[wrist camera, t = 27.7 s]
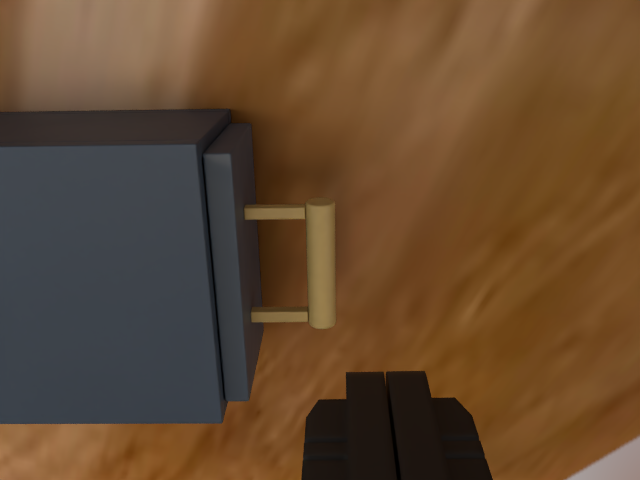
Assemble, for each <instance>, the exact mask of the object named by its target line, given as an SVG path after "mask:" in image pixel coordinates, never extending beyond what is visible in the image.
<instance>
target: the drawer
mask: <svg viewBox="0 0 640 480" xmlns="http://www.w3.org/2000/svg"><path fill="white" fill-rule="evenodd" d="M202 169H203V180H204V191H205V202H206V212H207V223H208V234H209V245H210V256H211V267H212V278H213V289H214V299H215V310H216V321H217V330H218V329H219V340H220V351H221V362H222V373H223V384H224V395H225V401H249V398H250V393H251V388H252V384H253V379H254V374H255V369H256V365H257V360H258V355H259V350H260V345H261V341H262V336H263V331H264V330H263V322H308V318H309V324H310V326H312V327H314V328H317V329H327V328H331V327H333V326H334V325H335V323H336V256H335V202H334V200H332V199H329V198H323V197H319V198H312V199H309V200H307V201H306V203H305V204H265V205H256V195H255V178H254V162H253V145H252V128H251V124H250V123H230V124H228V125H227V126H226V128H225V129H224V130H223V131H222V132H221V133H220V135H219V136H218V137H217V138H216V139H215V140H214V142H213V143H212V144H211V145H210V146H209V147H208V149H207V150H206V151H205V152H204V153H203V157H202ZM305 218H306V246H307V282H308V307H262V296H261V279H260V262H259V246H258V229H257V220H270V219H305Z"/></svg>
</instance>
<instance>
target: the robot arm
mask: <svg viewBox="0 0 640 480" xmlns="http://www.w3.org/2000/svg"><path fill="white" fill-rule="evenodd" d="M346 396H347V399H330V400H318V402H317V403H316V404H315V406H314V407H313V409H312V410H311V412H310V413H309V415H308V416H307V417H306V428H305V443H304V454H303V467H302V480H493V479H492V476H491V473H490V470H489V467H488V464H487V461H486V459H485V457H484V451H483V448H482V445H481V442H480V441H479V436H478V433H477V430H476V427H475V424H474V421H473V417H472V415H471V414H470V413H469V412H468V411H467V410H466V409H465V408H464V407H463V406H462V405H461V404H460V403H459V402H458V401H457V400H456V398H431V393H430V389H429V385H428V381H427V377H426V373H425V371H391V372H386V386H385V378H384V372H346Z"/></svg>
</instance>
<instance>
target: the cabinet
mask: <svg viewBox="0 0 640 480" xmlns="http://www.w3.org/2000/svg"><path fill="white" fill-rule="evenodd" d="M230 123H231V114H230V109H184V110H116V111H47V112H0V424H154V423H222V422H223V419H224V415H225V411H226V407H227V403H228V401H225V395H224V384H223V373H222V362H221V351H220V340H219V329H218V330H217V321H216V310H215V299H214V289H213V278H212V267H211V256H210V245H209V234H208V223H207V212H206V202H205V191H204V180H203V169H202V157H203V153H204V152H205V151H206V150H207V149H208V147H209V146H210V145H211V144H212V143H213V142H214V140H215V139H216V138H217V137H218V136H219V135H220V133H221V132H222V131H223V130H224V129H225V128H226V126H227V125H228V124H230Z"/></svg>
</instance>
